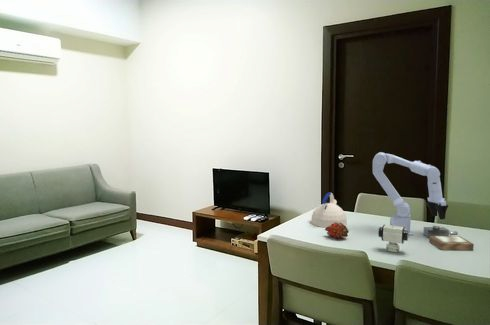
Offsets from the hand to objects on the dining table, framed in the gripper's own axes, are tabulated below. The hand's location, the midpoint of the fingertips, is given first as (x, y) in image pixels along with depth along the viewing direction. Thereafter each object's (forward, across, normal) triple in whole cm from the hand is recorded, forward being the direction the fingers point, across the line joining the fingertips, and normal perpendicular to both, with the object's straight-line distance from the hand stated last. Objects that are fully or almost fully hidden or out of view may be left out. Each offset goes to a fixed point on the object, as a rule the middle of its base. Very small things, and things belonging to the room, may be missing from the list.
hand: (438, 217), depth 172 cm
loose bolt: (+11, +4, -8) cm, 14 cm away
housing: (+10, 0, +2) cm, 10 cm away
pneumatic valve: (+7, -22, +31) cm, 39 cm away
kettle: (+2, +23, +51) cm, 56 cm away
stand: (+10, -14, +2) cm, 17 cm away
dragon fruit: (+3, -4, +52) cm, 52 cm away
